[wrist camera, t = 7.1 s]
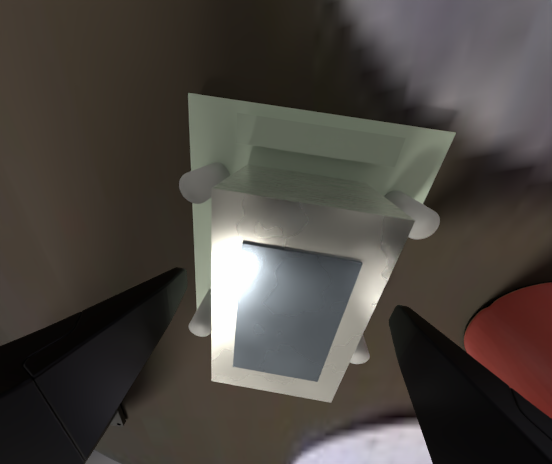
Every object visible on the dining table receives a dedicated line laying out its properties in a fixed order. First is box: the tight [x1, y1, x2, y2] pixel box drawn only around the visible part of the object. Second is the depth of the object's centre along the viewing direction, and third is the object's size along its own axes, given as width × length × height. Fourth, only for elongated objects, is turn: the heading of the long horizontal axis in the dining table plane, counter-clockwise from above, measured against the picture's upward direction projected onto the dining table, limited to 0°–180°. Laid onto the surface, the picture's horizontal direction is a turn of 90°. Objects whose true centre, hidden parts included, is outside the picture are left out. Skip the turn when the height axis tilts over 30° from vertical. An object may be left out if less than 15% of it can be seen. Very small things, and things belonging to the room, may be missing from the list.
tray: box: [179, 93, 456, 364], centre depth 11 cm, size 14×11×4 cm
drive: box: [211, 164, 415, 402], centre depth 10 cm, size 9×6×5 cm, turn 172°
